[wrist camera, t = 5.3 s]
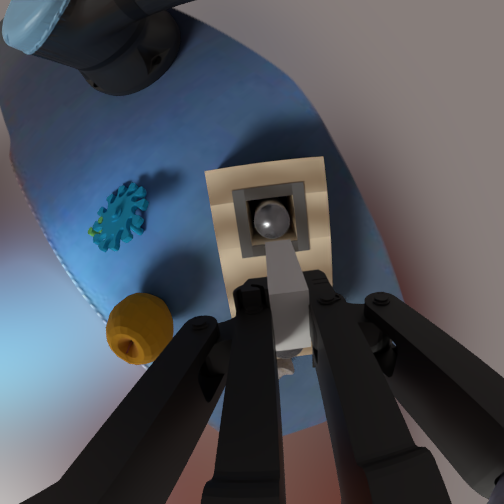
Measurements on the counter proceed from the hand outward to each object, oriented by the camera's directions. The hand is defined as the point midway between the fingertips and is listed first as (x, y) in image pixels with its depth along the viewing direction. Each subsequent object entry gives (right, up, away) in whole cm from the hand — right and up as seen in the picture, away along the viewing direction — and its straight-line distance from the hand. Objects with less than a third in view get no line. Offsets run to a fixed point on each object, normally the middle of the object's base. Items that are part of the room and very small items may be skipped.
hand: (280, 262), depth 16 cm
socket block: (+1, +1, +21) cm, 21 cm away
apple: (-17, -8, +25) cm, 31 cm away
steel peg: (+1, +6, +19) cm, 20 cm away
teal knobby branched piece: (-20, +6, +20) cm, 29 cm away
